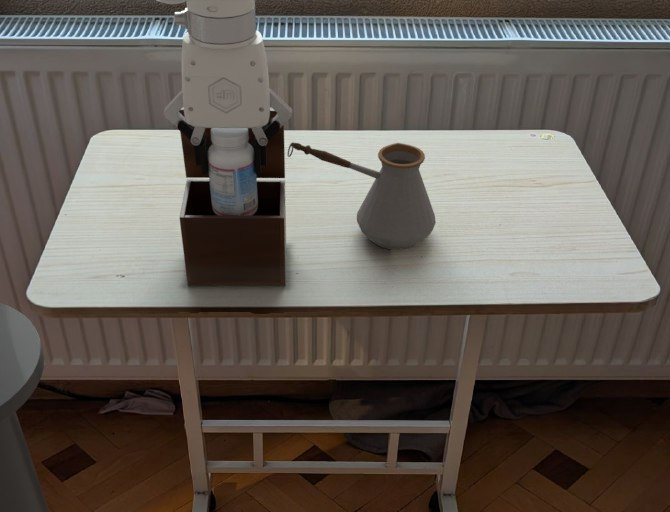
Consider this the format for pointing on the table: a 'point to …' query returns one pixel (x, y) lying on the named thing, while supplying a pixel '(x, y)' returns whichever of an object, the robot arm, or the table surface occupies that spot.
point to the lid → (273, 146)
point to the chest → (234, 238)
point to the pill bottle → (232, 172)
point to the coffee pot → (390, 196)
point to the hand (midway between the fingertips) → (232, 168)
